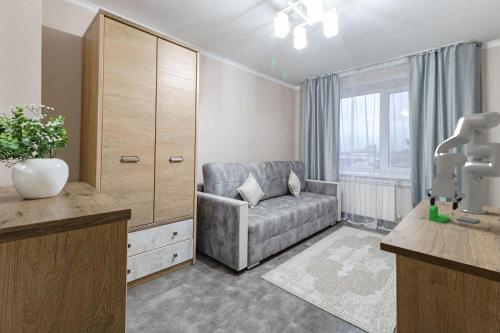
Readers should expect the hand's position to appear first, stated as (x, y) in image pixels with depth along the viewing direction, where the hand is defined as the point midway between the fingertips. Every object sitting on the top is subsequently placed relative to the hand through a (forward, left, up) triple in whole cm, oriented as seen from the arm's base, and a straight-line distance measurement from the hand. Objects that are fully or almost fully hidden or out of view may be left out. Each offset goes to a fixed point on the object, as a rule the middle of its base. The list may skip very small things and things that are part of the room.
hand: (443, 207), depth 123 cm
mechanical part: (-1, -1, -8) cm, 8 cm away
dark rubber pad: (-12, +7, -7) cm, 15 cm away
